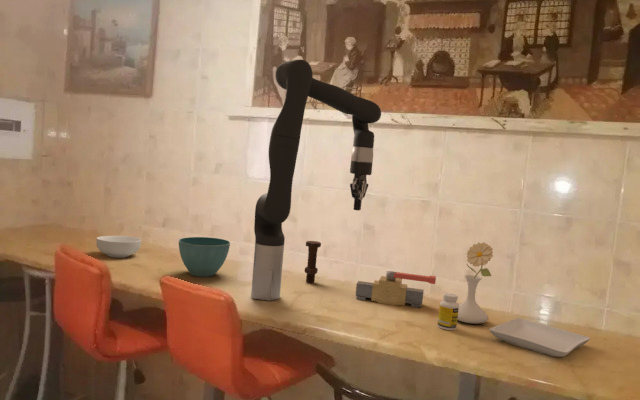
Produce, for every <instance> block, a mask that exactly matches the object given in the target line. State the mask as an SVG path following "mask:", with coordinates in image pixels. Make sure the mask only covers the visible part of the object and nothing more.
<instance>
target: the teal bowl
mask: <svg viewBox="0 0 640 400" xmlns="http://www.w3.org/2000/svg"><path fill="white" fill-rule="evenodd" d="M230 246H231V242H230V241H229V240H227V239H223V238H218V237H207V236H206V237H205V236H191V237H189V236H188V237H181V238H179V239H178V249H179V254H180V257H181V261H182V263H183V265H184V266H185V268H186V270H187V271H188V273H189V274H190V275H192V276H193V277H194V276H195V277H203V278H205V277H206V278H207V277H212V276H214V275H215V274H217V272H218V271H219V270H220V269H221V268H222V266H223V265H224V263H225V261H226V259H227V257H228V254H229V252H230V251H229V250H230Z"/></svg>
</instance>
